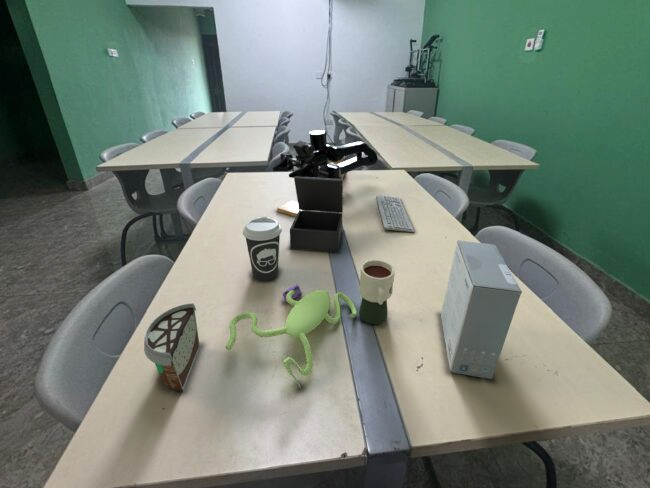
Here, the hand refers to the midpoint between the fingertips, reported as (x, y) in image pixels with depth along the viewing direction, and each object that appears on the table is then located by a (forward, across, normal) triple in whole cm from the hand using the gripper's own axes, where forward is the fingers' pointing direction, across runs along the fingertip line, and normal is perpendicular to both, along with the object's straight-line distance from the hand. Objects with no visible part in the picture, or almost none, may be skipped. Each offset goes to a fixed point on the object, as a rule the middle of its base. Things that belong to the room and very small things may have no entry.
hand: (280, 172), depth 111 cm
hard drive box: (+12, +74, +15) cm, 76 cm away
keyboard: (-30, +28, +20) cm, 45 cm away
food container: (+56, +38, +11) cm, 68 cm away
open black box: (+5, +22, +16) cm, 28 cm away
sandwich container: (-48, -20, +22) cm, 56 cm away
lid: (+1, +20, +3) cm, 20 cm away
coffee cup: (+27, +26, +14) cm, 40 cm away
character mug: (+19, +56, +15) cm, 61 cm away
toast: (-4, 0, +17) cm, 17 cm away
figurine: (+34, +47, +13) cm, 60 cm away
